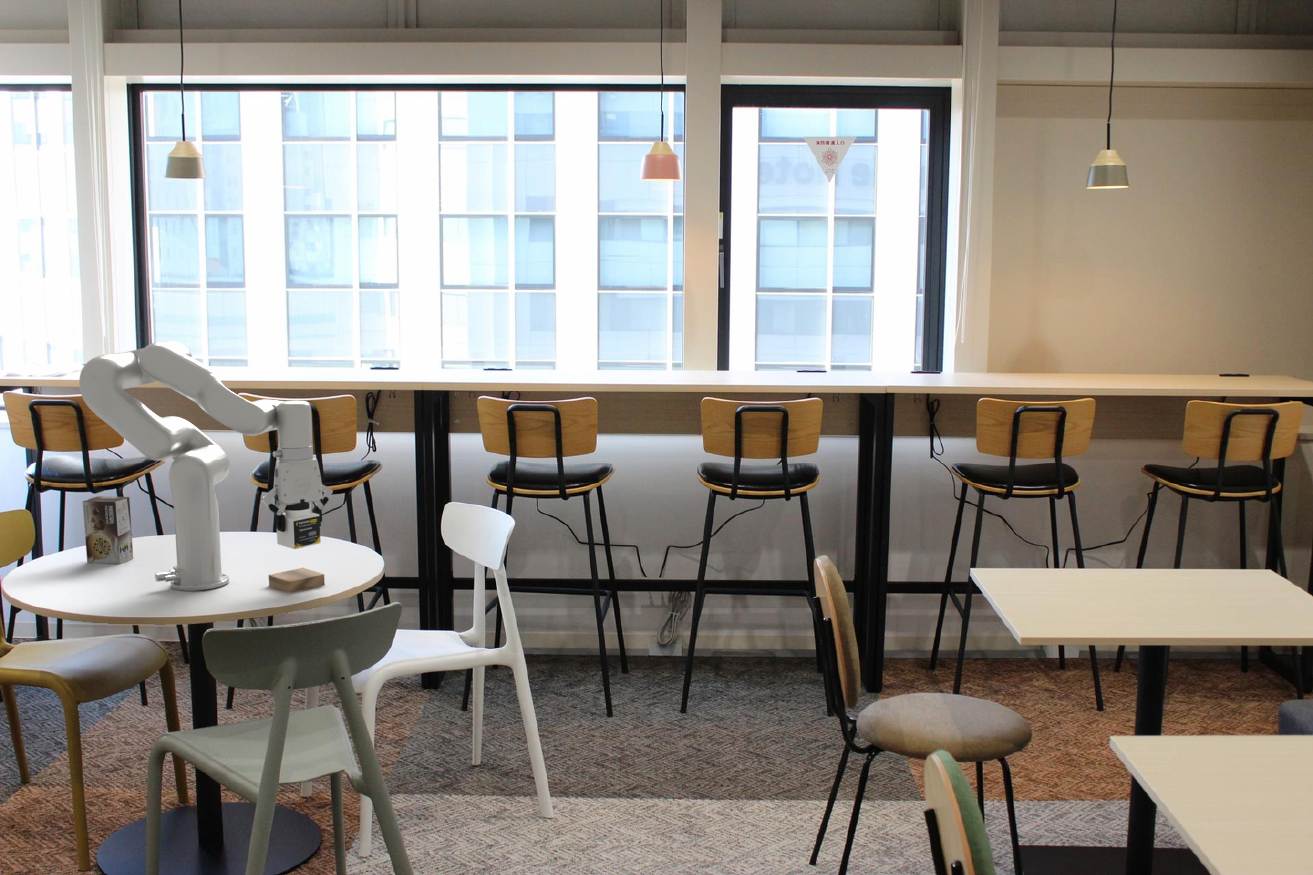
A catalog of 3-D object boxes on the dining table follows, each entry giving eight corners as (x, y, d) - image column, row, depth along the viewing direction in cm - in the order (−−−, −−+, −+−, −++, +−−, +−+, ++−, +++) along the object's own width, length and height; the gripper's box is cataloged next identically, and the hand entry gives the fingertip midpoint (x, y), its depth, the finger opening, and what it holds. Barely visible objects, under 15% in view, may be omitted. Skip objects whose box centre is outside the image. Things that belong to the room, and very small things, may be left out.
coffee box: (134, 558, 277) (131, 496, 275) (119, 564, 271) (116, 501, 269) (101, 557, 278) (97, 495, 276) (85, 563, 272) (81, 500, 270)
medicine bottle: (294, 549, 248) (292, 498, 246) (276, 544, 252) (274, 494, 250) (321, 543, 254) (319, 493, 252) (303, 538, 258) (301, 489, 256)
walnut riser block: (290, 594, 247) (289, 581, 247) (269, 587, 253) (268, 574, 253) (324, 586, 254) (324, 574, 254) (303, 579, 260) (302, 567, 259)
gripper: (265, 459, 241) (268, 536, 244) (338, 452, 253) (341, 525, 255) (252, 456, 247) (256, 530, 249) (324, 448, 258) (327, 520, 261)
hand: (299, 527), depth 252 cm, fingers closed on medicine bottle, 8 cm apart
